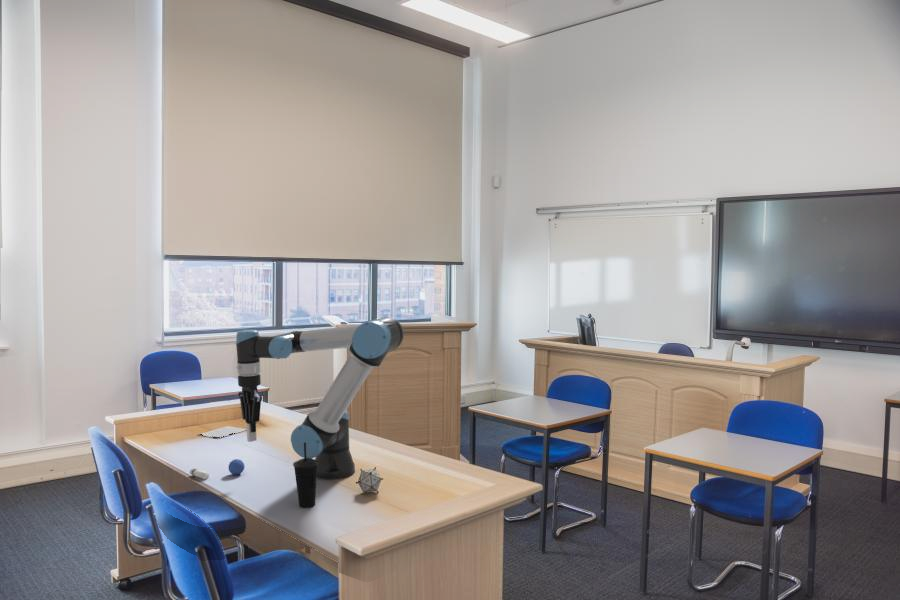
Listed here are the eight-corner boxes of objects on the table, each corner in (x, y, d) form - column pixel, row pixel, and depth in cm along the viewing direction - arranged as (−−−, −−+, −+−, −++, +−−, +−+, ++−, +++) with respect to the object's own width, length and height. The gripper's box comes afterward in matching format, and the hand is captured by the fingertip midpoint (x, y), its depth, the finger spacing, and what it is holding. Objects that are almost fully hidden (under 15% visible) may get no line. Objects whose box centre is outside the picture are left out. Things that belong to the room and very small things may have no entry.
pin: (203, 481, 236) (190, 476, 241) (210, 477, 238) (196, 472, 243) (201, 475, 235) (188, 470, 241) (207, 471, 237) (194, 466, 242)
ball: (239, 463, 246) (248, 470, 243) (227, 472, 243) (236, 480, 240) (236, 453, 243) (246, 461, 240) (223, 463, 239) (233, 471, 237)
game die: (373, 505, 219) (376, 487, 212) (350, 495, 220) (352, 477, 214) (385, 484, 225) (388, 466, 219) (362, 474, 227) (365, 456, 221)
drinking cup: (321, 500, 214) (319, 439, 212) (317, 509, 206) (315, 445, 205) (297, 501, 213) (295, 439, 212) (292, 510, 206) (290, 446, 205)
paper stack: (262, 433, 299) (262, 432, 299) (216, 447, 278) (216, 446, 278) (227, 427, 312) (227, 425, 311) (181, 440, 290) (181, 439, 290)
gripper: (230, 373, 235) (233, 439, 237) (248, 378, 226) (251, 446, 227) (250, 370, 240) (252, 435, 242) (268, 374, 231) (270, 441, 233)
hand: (252, 440), depth 235 cm, fingers closed
